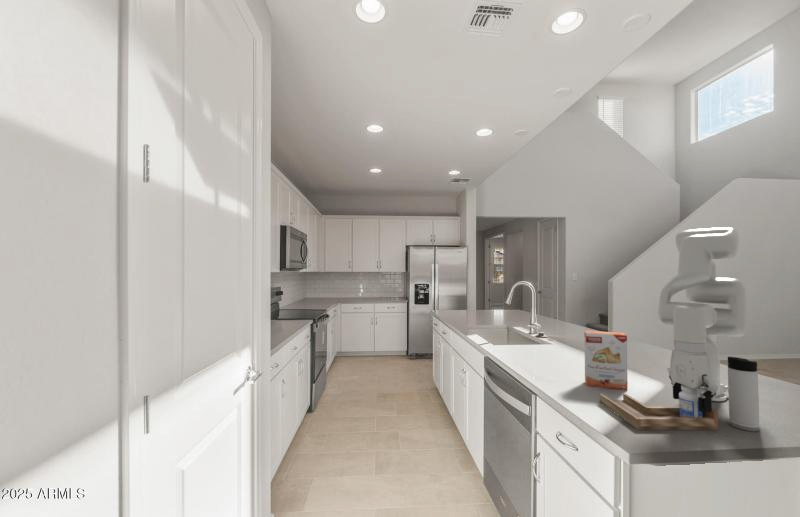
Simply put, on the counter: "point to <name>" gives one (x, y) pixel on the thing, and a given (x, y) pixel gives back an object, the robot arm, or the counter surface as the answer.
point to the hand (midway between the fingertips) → (691, 404)
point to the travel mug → (743, 394)
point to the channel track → (658, 416)
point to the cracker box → (606, 359)
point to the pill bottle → (689, 403)
